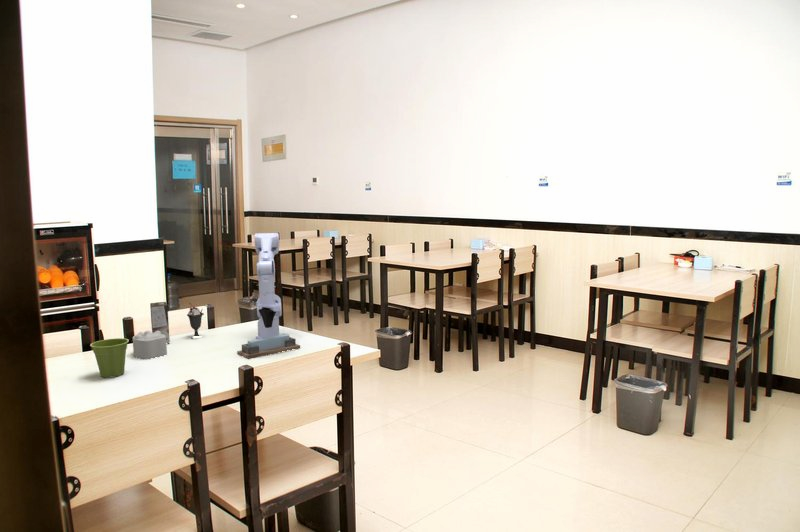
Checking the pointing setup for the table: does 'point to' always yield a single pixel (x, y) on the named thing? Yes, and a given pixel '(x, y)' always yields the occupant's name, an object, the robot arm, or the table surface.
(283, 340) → the slat
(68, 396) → the table surface
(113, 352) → the plant pot
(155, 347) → the lumpy-topped squat cylinder
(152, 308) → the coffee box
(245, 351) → the board
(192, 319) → the sundae
